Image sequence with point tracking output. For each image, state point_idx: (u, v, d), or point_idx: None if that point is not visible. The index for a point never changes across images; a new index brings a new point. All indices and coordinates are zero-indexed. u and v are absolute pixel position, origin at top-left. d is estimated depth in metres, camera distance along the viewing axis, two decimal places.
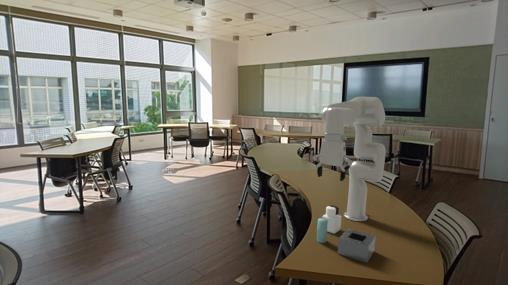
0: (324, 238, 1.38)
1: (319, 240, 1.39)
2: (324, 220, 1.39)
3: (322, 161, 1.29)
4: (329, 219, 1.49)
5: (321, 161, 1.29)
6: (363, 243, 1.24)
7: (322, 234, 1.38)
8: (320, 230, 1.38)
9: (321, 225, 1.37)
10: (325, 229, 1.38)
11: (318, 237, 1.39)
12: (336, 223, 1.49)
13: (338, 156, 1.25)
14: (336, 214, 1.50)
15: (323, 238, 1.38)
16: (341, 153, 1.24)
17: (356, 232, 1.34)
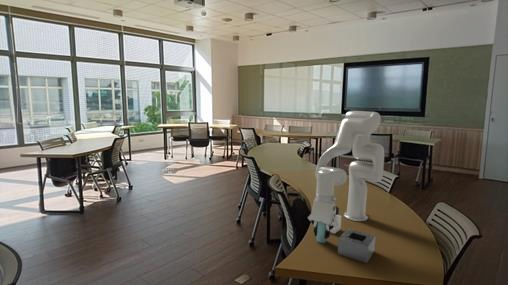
0: (324, 238, 1.38)
1: (319, 240, 1.39)
2: None
3: (314, 218, 1.39)
4: None
5: (313, 218, 1.39)
6: (363, 243, 1.24)
7: (322, 234, 1.38)
8: (320, 230, 1.38)
9: (321, 225, 1.37)
10: (325, 229, 1.38)
11: (318, 237, 1.39)
12: None
13: (328, 215, 1.35)
14: (336, 214, 1.50)
15: (323, 238, 1.38)
16: (331, 213, 1.34)
17: (356, 232, 1.34)
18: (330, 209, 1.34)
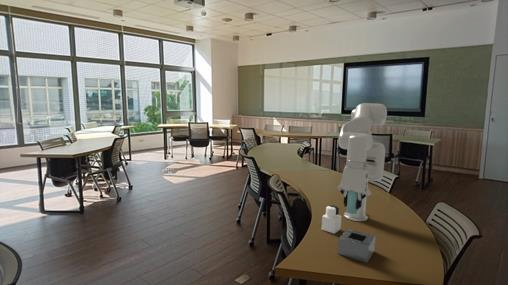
0: (355, 208, 1.28)
1: (349, 211, 1.28)
2: None
3: (344, 187, 1.29)
4: (329, 219, 1.49)
5: (343, 187, 1.29)
6: (363, 243, 1.24)
7: (353, 204, 1.28)
8: (351, 200, 1.28)
9: (352, 194, 1.27)
10: (356, 199, 1.28)
11: (348, 207, 1.29)
12: (336, 223, 1.49)
13: (360, 183, 1.25)
14: (336, 214, 1.50)
15: (354, 208, 1.28)
16: (363, 180, 1.24)
17: (356, 232, 1.34)
18: (362, 176, 1.24)
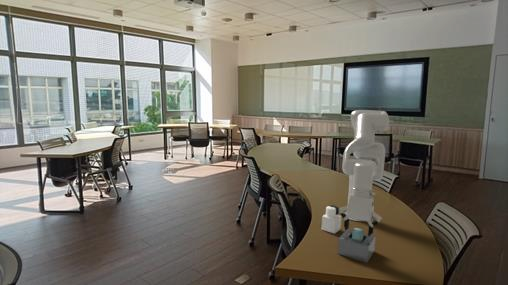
0: None
1: None
2: (360, 230, 1.29)
3: (349, 215, 1.29)
4: (329, 219, 1.49)
5: (348, 215, 1.29)
6: (363, 243, 1.24)
7: None
8: None
9: (357, 236, 1.28)
10: (361, 240, 1.28)
11: None
12: (336, 223, 1.49)
13: (366, 212, 1.24)
14: (336, 214, 1.50)
15: None
16: (370, 209, 1.24)
17: None
18: (369, 205, 1.24)
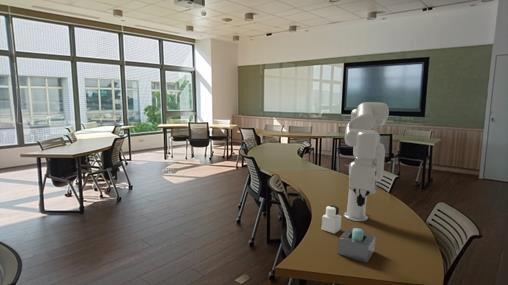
0: None
1: None
2: (360, 230, 1.29)
3: (352, 185, 1.27)
4: (329, 219, 1.49)
5: (351, 185, 1.27)
6: (363, 243, 1.24)
7: None
8: None
9: (357, 236, 1.28)
10: (361, 240, 1.28)
11: None
12: (336, 223, 1.49)
13: (369, 181, 1.23)
14: (336, 214, 1.50)
15: None
16: (372, 178, 1.22)
17: None
18: (372, 174, 1.22)
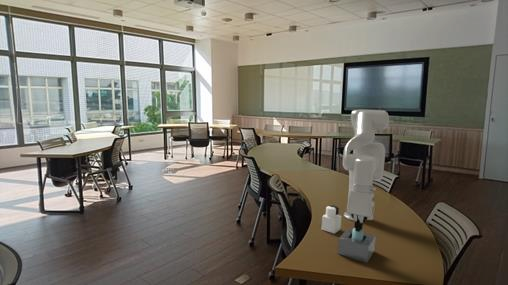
0: None
1: None
2: (360, 230, 1.29)
3: (350, 210, 1.28)
4: (329, 219, 1.49)
5: (349, 210, 1.29)
6: (363, 243, 1.24)
7: None
8: None
9: (357, 236, 1.28)
10: (361, 240, 1.28)
11: None
12: (336, 223, 1.49)
13: (367, 207, 1.24)
14: (336, 214, 1.50)
15: None
16: (370, 204, 1.24)
17: None
18: (369, 200, 1.24)
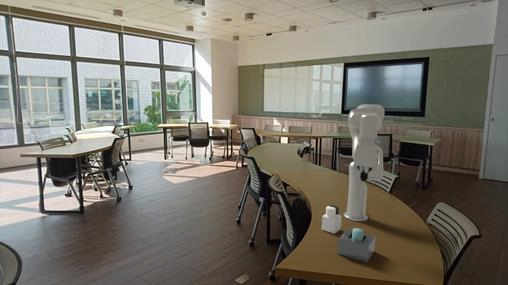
0: None
1: None
2: (360, 230, 1.29)
3: (356, 163, 1.41)
4: (329, 219, 1.49)
5: (355, 162, 1.41)
6: (363, 243, 1.24)
7: None
8: None
9: (357, 236, 1.28)
10: (361, 240, 1.28)
11: None
12: (336, 223, 1.49)
13: (372, 158, 1.37)
14: (336, 214, 1.50)
15: None
16: (375, 156, 1.36)
17: None
18: (374, 152, 1.36)
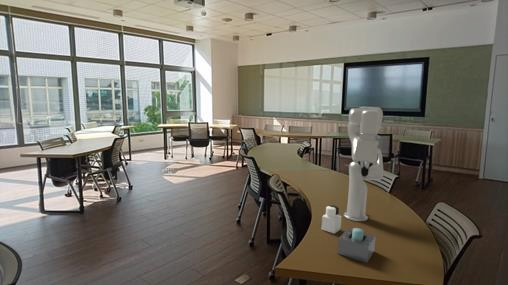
0: None
1: None
2: (360, 230, 1.29)
3: (357, 158, 1.44)
4: (329, 219, 1.49)
5: (356, 158, 1.44)
6: (363, 243, 1.24)
7: None
8: None
9: (357, 236, 1.28)
10: (361, 240, 1.28)
11: None
12: (336, 223, 1.49)
13: (372, 153, 1.39)
14: (336, 214, 1.50)
15: None
16: (375, 151, 1.39)
17: None
18: (374, 147, 1.39)
